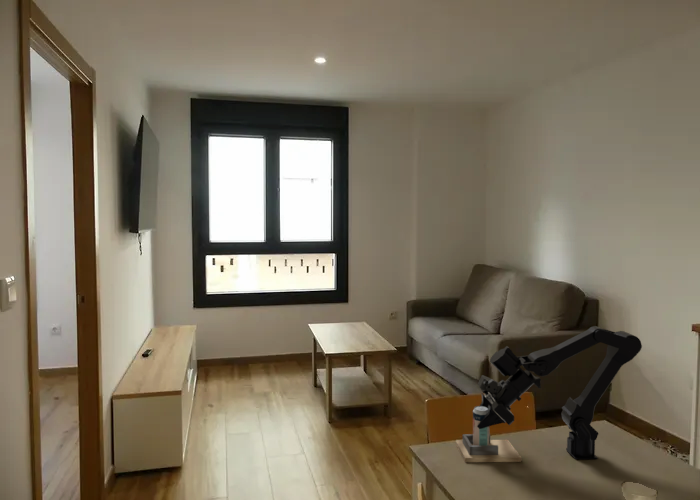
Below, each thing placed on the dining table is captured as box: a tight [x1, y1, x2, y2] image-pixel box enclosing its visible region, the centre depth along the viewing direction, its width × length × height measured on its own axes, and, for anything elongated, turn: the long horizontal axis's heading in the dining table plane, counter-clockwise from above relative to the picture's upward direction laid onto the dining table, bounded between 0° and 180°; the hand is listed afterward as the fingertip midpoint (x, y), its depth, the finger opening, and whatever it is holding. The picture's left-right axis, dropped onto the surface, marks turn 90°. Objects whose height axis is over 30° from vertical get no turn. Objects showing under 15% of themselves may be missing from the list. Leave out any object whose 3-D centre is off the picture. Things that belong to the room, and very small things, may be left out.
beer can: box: [472, 405, 491, 445], centre depth 151 cm, size 5×5×12 cm
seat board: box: [455, 433, 522, 463], centre depth 151 cm, size 16×12×4 cm
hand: (476, 423), depth 151 cm, fingers open, 6 cm apart
